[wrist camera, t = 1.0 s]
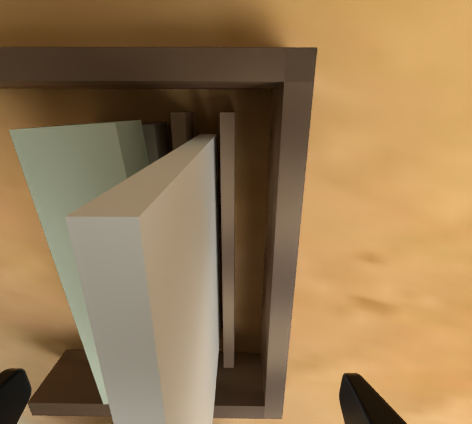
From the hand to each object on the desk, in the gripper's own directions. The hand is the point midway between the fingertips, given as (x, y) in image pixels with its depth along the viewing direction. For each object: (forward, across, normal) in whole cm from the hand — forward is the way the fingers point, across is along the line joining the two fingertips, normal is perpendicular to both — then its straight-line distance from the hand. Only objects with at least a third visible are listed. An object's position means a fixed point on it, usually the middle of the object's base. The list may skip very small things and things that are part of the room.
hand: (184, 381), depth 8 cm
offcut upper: (+6, +4, 0) cm, 7 cm away
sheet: (+8, 0, 0) cm, 8 cm away
